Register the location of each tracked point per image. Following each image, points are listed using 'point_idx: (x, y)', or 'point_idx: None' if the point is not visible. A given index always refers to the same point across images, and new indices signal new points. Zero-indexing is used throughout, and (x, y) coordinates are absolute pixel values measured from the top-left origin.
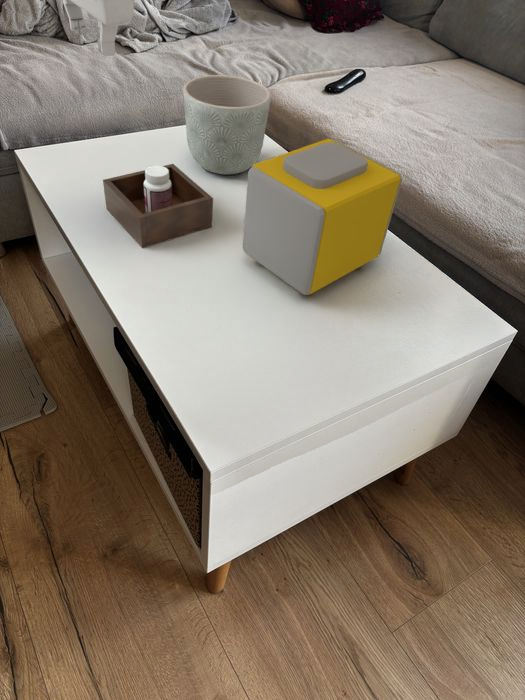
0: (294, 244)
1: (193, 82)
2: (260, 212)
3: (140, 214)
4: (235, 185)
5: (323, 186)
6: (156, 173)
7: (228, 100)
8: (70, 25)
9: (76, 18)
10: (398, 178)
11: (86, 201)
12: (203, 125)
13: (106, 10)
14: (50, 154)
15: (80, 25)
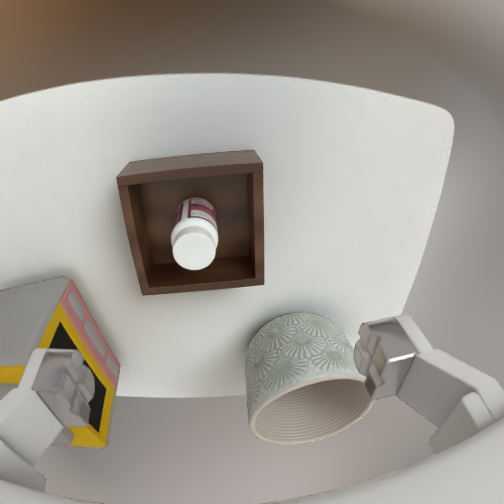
0: None
1: None
2: (17, 323)
3: (126, 181)
4: (236, 330)
5: None
6: (184, 248)
7: (341, 398)
8: (412, 329)
9: (407, 377)
10: None
11: (290, 130)
12: (285, 361)
13: None
14: (433, 144)
15: (370, 369)
